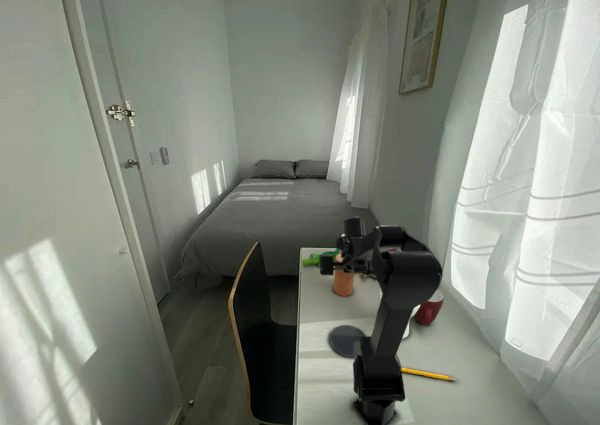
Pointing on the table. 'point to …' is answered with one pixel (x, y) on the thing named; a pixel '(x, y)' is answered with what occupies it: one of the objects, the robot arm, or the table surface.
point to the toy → (315, 258)
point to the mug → (429, 309)
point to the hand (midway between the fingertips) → (345, 270)
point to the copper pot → (343, 280)
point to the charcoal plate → (346, 340)
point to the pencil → (426, 374)
